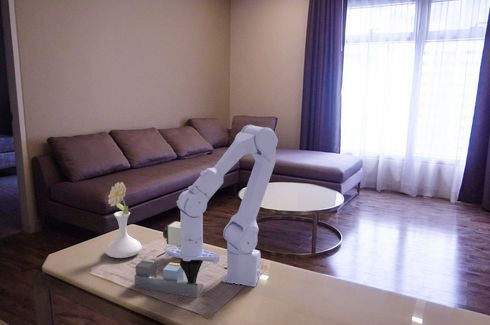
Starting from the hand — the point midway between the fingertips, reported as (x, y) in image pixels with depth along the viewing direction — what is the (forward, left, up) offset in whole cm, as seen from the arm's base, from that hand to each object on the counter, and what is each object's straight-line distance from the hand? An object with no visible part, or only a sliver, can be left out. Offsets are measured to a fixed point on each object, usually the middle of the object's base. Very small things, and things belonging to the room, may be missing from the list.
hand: (192, 283), depth 96 cm
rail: (+7, +1, -2) cm, 7 cm away
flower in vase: (+30, -14, -2) cm, 33 cm away
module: (+6, 0, -1) cm, 6 cm away
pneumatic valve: (+11, -18, -2) cm, 21 cm away
